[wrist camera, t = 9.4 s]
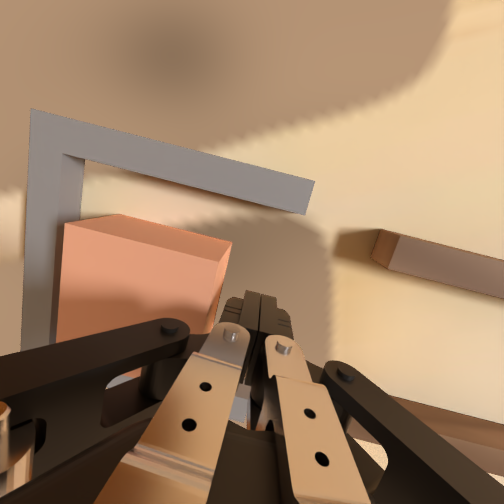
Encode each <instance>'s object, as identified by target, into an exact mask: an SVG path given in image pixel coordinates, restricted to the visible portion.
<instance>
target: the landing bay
mask: <svg viewBox="0 0 504 504" xmlns="http://www.w3.org/2000/svg"><path fill="white" fill-rule="evenodd" d="M85 159H87V160H91V161H94V162H98V163H102V164H106V165H110V166H114V167H118V168H122V169H126V170H129V171H133V172H137V173H141V174H145V175H149V176H153V177H157V178H161V179H165V180H169V181H172V182H176V183H180V184H184V185H188V186H192V187H196V188H200V189H204V190H208V191H211V192H215V193H219V194H223V195H227V196H231V197H235V198H239V199H243V200H247V201H250V202H254V203H258V204H262V205H266V206H270V207H274V208H278V209H282V210H286V211H289V212H293V213H297V214H301V215H305V213H306V210H307V207H308V203H309V200H310V196H311V193H312V190H313V186H314V183H315V181H313V180H309V179H305V178H301V177H297V176H293V175H289V174H285V173H282V172H278V171H274V170H270V169H266V168H262V167H258V166H254V165H250V164H246V163H242V162H239V161H235V160H231V159H227V158H223V157H219V156H215V155H211V154H207V153H203V152H199V151H196V150H192V149H188V148H184V147H180V146H176V145H172V144H168V143H164V142H160V141H157V140H152V139H148V138H145V137H141V136H137V135H133V134H129V133H125V132H121V131H117V130H114V129H109V128H106V127H102V126H98V125H94V124H90V123H86V122H82V121H78V120H74V119H70V118H67V117H63V116H58V115H54V114H51V113H47V112H43V111H39V110H35V109H31V115H30V137H29V162H28V185H27V208H26V232H25V256H24V280H23V305H22V329H21V351H25V350H29V349H34V348H38V347H42V346H46V345H50V344H54V343H56V335H57V322H58V308H59V295H60V281H61V268H62V254H63V240H64V227H65V223H68V222H74V221H79V219H80V208H81V197H82V186H83V175H84V164H85ZM21 351H20V352H21ZM131 379H134V378H132V377H128V376H124V375H120V376H118V377H116V378H114V379H113V380H112V381H111V382H110V383H109V384H108V385H107V388H111V387H113V386H116V385H118V384H121V383H123V382H126V381H128V380H131ZM244 383H245V378H244V381H243V384H240V383H239V386H238V390H237V392H236V393H235V396H234V400H233V404H232V408H231V411H230V415H229V419H231V420H235V421H239V422H244V420H245V416H246V413H247V401H248V397H249V394H250V391H251V386H248V385H244Z"/></svg>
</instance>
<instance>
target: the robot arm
mask: <svg viewBox="0 0 504 504" xmlns="http://www.w3.org/2000/svg"><path fill="white" fill-rule="evenodd" d="M141 367H142V368H141ZM138 368H141V374H140V376H139V377H136V378H134V379H131V380H128V381H126V382H123V383H121V384H118V385H116V386H113V387H111V388H108V389H106V387H107V385H108V384H109V383H110V382H111V381H112V380H113V379H114V378H116V377H118V376H120V375H122V374H125V373H128V372H130V371H133V370H136V369H138ZM245 374H246V375H245ZM244 377H245V383H244V385H248V386H251V391H250V394H249V397H248V401H247V429H245V428H243V427H241V426H239V425H237V424H235V423H233V422H232V421H230V420H228V419H229V415H230V411H231V408H232V404H233V400H234V396H235V393H236V392H237V390H238V386H239V383H240V384H243V381H244ZM105 389H106V390H105ZM353 418H354V419H355V420H356V421H357V422H358V423H359V424H360V425H361V426H362V427H363V428H364V429H365V430H366V431H368V432H369V433H370V434H371V435H372V436H373V437H374V438H375V439H376V440H377V441H378V442H379V443H380V444H381V445H382V447H383V448H384V450H385V451H386V454H387V457H388V465H387V468H386V470H385V471H384V470H383V469H382V468H381V467H380V466H379V465H378V464H377V463H376V462H375V461H374V460H373V459H372V458H371V456H370V455H369V454H368V453H367V452H366V451H365V450H364V449H363V448H362V447H361V446H360V445H359V444H358V443H357V442H356V441H355V440H354V439H353V438H352V437H351V436H350V435H349V434H348V433H347V432H348V430H349V427H350V425H351V422H352V420H353ZM0 504H504V486H503V485H502V484H500V483H499V482H498V481H497V480H495V479H494V478H493V477H492V476H490V475H489V474H488V473H486V472H485V471H484V470H483V469H481V468H480V467H479V466H478V465H476V464H475V463H474V462H473V461H471V460H470V459H469V458H467V457H466V456H465V455H464V454H462V453H461V452H460V451H459V450H457V449H456V448H455V447H454V446H452V445H451V444H450V443H449V442H447V441H446V440H445V439H443V438H442V437H441V436H440V435H438V434H437V433H436V432H435V431H433V430H432V429H431V428H430V427H428V426H427V425H426V424H424V423H423V422H422V421H421V420H419V419H418V418H417V417H416V416H414V415H413V414H412V413H411V412H409V411H408V410H407V409H405V408H404V407H403V406H402V405H400V404H399V403H398V402H397V401H395V400H394V399H393V398H392V397H390V396H389V395H388V394H387V393H385V392H384V391H383V390H381V389H380V388H379V387H378V386H376V385H375V384H374V383H373V382H371V381H370V380H369V379H368V378H366V377H365V376H364V375H362V374H361V373H360V372H359V371H357V370H356V369H355V368H353V367H352V366H350V365H348V364H346V363H343V362H340V361H328V362H327V363H326V364H325V366H324V368H323V369H322V368H320V367H318V366H316V365H314V364H312V363H310V362H308V361H307V360H305V357H304V354H303V351H302V349H301V347H300V346H299V345H298V344H297V343H296V342H295V341H294V339H293V333H292V328H291V321H290V316H289V315H288V313H287V312H286V311H285V310H283V309H279V308H277V302H276V298H275V297H271V296H268V295H264V294H261V297H260V293H256V292H252V291H248V290H246V292H245V296H244V299H240V298H236V297H232V298H230V299H228V300H227V302H226V305H225V307H224V311H223V313H222V315H221V318H220V321H219V323H218V324H216V325H215V326H214V327H213V328H212V330H211V332H210V333H207V334H190V327H189V326H188V325H187V324H186V323H185V322H183V321H181V320H178V319H174V318H159V319H155V320H151V321H147V322H142V323H138V324H134V325H130V326H126V327H122V328H117V329H113V330H109V331H105V332H101V333H96V334H92V335H88V336H84V337H80V338H75V339H71V340H67V341H63V342H59V343H54V344H50V345H46V346H42V347H38V348H34V349H29V350H25V351H21V352H17V353H13V354H8V355H4V356H0Z"/></svg>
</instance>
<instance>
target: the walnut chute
mask: <svg viewBox="0 0 504 504" xmlns="http://www.w3.org/2000/svg"><path fill="white" fill-rule="evenodd" d="M370 258H372V259H373V260H375V261H376V262H378V263H379V264H381V265H382V266H384V267H385V268H387V269H390V270H394V271H398V272H402V273H405V274H409V275H413V276H417V277H421V278H425V279H429V280H433V281H437V282H441V283H444V284H448V285H452V286H456V287H460V288H464V289H468V290H472V291H476V292H480V293H483V294H487V295H491V296H495V297H499V298H503V299H504V260H501V259H497V258H493V257H489V256H485V255H481V254H477V253H473V252H469V251H465V250H462V249H458V248H454V247H450V246H446V245H442V244H438V243H434V242H430V241H426V240H423V239H419V238H415V237H411V236H407V235H403V234H399V233H395V232H391V231H387V230H384V229H381V230H380V233H379V235H378V238H377V241H376V244H375V246H374V249H373V252H372V254H371V257H370ZM390 397H392V398H393V399H394V400H395V401H397V402H398V403H399V404H400V405H402V406H403V407H404V408H405V409H407V410H408V411H409V412H411V413H412V414H413V415H414V416H416V417H417V418H418V419H419V420H421V421H422V422H423V423H424V424H426V425H427V426H428V427H430V428H431V429H432V430H433V431H435V432H436V433H437V434H438V435H440V436H441V437H442V438H443V439H445V440H446V441H447V442H449V443H450V444H451V445H452V446H454V447H455V448H456V449H457V450H459V451H460V452H461V453H462V454H464V455H465V456H466V457H467V458H469V459H470V460H471V461H473V462H474V463H475V464H476V465H478V466H479V467H480V468H481V469H483V470H484V471H485V472H487V473H491V474H495V475H499V476H503V477H504V425H502V424H498V423H494V422H490V421H487V420H483V419H479V418H475V417H471V416H467V415H463V414H459V413H455V412H452V411H448V410H444V409H440V408H436V407H432V406H428V405H424V404H421V403H417V402H413V401H409V400H405V399H401V398H397V397H393V396H390ZM347 433H348V434H349V435H350V436H351V437H352V438H356V439H359V440H363V441H367V442H371V443H375V444H379V445H381V444H380V443H379V442H378V441H377V440H376V439H375V438H374V437H373V436H372V435H371V434H370V433H369V432H368V431H366V430H365V429H364V428H363V427H362V426H361V425H360V424H359V423H358V422H357V421H356V420H355V419H354V418H353V420H352V422H351V425H350V427H349V430H348V432H347Z"/></svg>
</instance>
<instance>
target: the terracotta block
mask: <svg viewBox="0 0 504 504" xmlns="http://www.w3.org/2000/svg"><path fill="white" fill-rule="evenodd" d="M231 247H232V242H231V241H228V240H223V239H220V238H216V237H212V236H208V235H204V234H199V233H196V232H192V231H188V230H184V229H180V228H176V227H172V226H165V225H161V224H157V223H153V222H149V221H145V220H141V219H137V218H133V217H129V216H125V215H121V214H117V215H111V216H105V217H99V218H93V219H87V220H81V221H74V222H68V223H65V227H64V240H63V254H62V268H61V281H60V295H59V308H58V322H57V335H56V343H59V342H63V341H67V340H71V339H75V338H80V337H84V336H88V335H92V334H96V333H101V332H105V331H109V330H113V329H117V328H122V327H126V326H130V325H134V324H138V323H142V322H147V321H151V320H155V319H159V318H174V319H178V320H181V321H183V322H185V323H186V324H187V325H188V326H189V327H190V334H207V333H210V332H211V330H212V328H213V324H214V320H215V316H216V312H217V307H218V302H219V299H220V294H221V290H222V285H223V281H224V277H225V273H226V268H227V264H228V260H229V256H230V251H231ZM141 368H142V367H141ZM141 368H138V369H136V370H133V371H130V372H128V373H125V374H122V375H124V376H128V377H132V378H136V377H139V376H140V374H141Z"/></svg>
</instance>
